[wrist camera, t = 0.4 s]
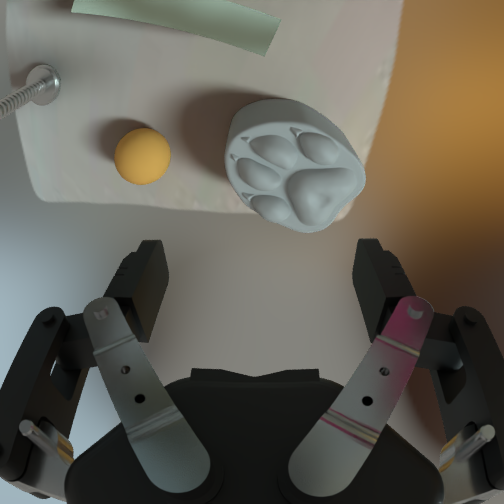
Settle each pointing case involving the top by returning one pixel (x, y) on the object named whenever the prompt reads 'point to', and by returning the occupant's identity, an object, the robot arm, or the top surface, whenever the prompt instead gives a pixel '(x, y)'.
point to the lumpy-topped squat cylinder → (291, 164)
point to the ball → (142, 156)
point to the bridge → (194, 19)
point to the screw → (33, 90)
